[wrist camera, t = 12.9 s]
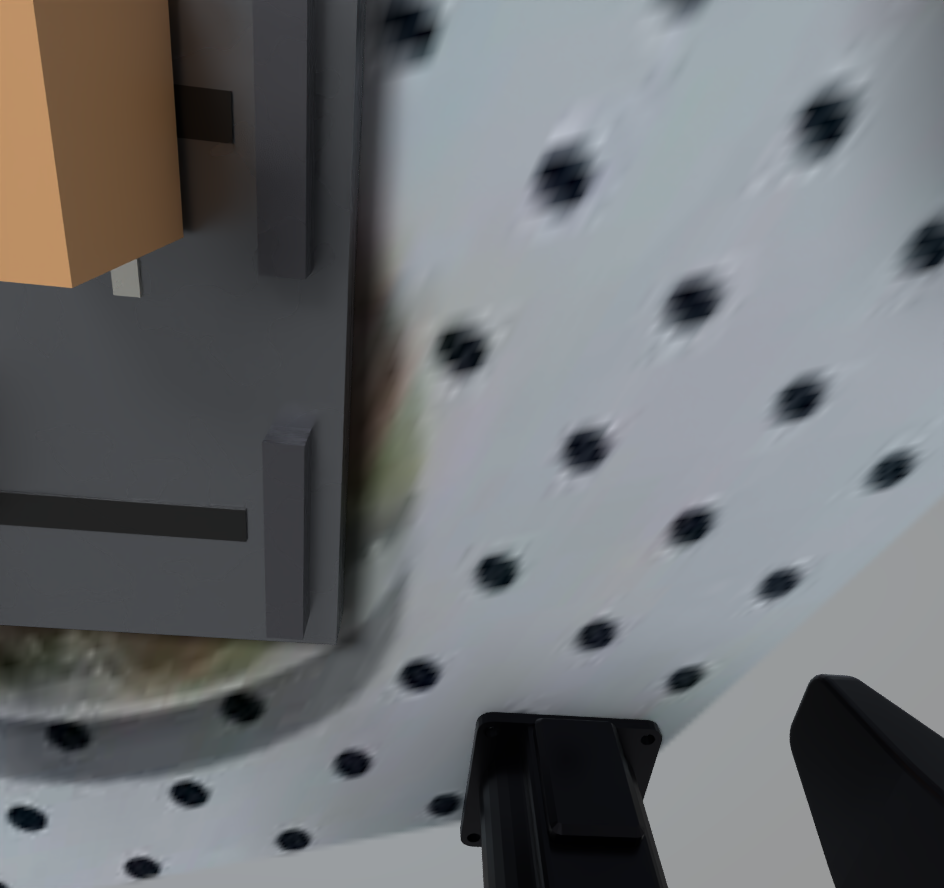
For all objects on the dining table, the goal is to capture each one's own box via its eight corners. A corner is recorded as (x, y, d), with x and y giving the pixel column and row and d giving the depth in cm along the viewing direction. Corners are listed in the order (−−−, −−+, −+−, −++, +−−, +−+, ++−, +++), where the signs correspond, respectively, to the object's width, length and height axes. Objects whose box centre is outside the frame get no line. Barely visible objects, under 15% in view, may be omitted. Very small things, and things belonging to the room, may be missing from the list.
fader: (183, 237, 15) (67, 290, 10) (40, 222, 15) (-144, 269, 10) (165, -35, 13) (10, -121, 8) (-1, -57, 13) (-258, -159, 8)
